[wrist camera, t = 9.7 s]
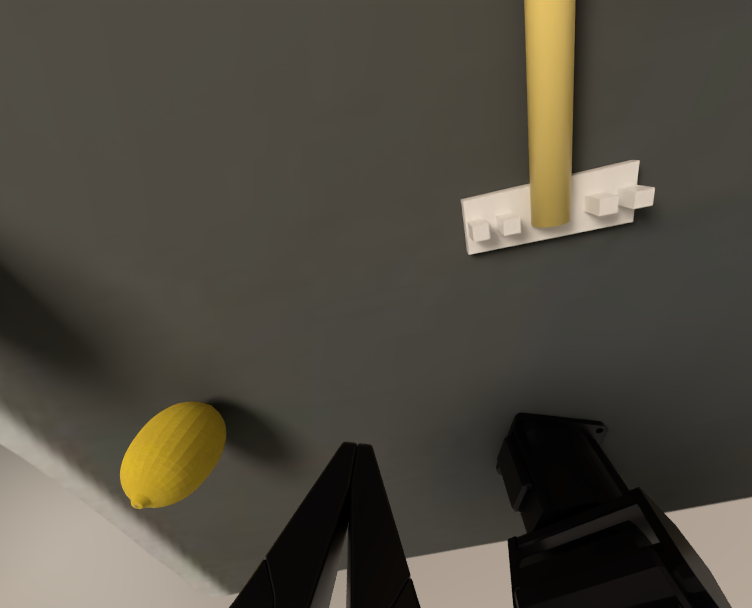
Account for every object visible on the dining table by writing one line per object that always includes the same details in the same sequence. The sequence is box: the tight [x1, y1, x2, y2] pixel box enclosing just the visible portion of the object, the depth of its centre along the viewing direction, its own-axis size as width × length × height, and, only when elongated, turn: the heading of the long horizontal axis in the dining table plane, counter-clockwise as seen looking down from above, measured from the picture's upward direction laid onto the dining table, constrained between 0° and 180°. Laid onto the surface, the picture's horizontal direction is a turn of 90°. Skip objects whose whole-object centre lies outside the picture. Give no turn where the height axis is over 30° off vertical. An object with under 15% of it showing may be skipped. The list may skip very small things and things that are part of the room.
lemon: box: [120, 402, 226, 509], centre depth 22 cm, size 6×6×8 cm
